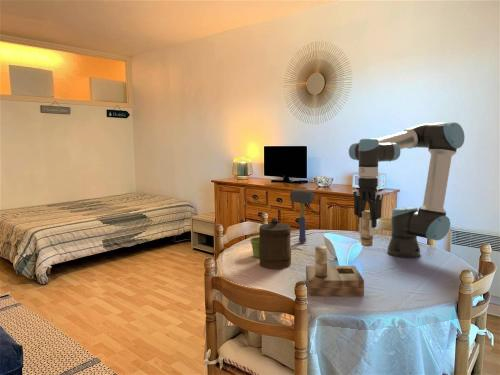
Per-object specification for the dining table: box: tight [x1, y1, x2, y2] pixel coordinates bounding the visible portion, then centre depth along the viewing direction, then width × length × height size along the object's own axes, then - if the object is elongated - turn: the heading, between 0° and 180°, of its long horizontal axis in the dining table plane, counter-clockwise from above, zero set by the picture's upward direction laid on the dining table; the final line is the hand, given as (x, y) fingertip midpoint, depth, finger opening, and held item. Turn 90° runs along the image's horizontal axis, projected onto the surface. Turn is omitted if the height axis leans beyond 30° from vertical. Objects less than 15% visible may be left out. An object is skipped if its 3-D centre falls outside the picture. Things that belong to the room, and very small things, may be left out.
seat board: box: [305, 245, 365, 297], centre depth 145 cm, size 20×16×17 cm
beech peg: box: [360, 209, 374, 247], centre depth 153 cm, size 5×5×14 cm
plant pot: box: [249, 236, 260, 259], centre depth 188 cm, size 9×9×9 cm
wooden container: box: [258, 217, 292, 270], centre depth 175 cm, size 15×15×22 cm
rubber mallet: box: [289, 189, 315, 244], centre depth 208 cm, size 12×8×30 cm, turn 53°
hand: (367, 233), depth 153 cm, fingers closed on beech peg, 4 cm apart
